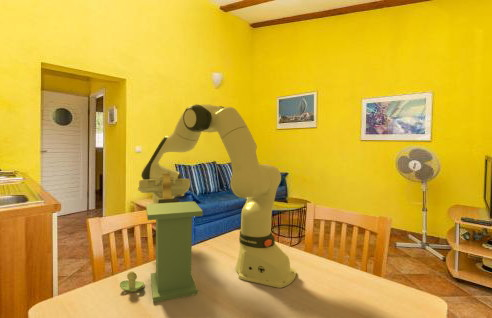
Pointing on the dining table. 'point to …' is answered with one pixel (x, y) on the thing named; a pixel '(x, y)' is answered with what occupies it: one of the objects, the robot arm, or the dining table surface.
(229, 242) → the dining table surface
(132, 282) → the pacifier
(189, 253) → the stand
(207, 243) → the dining table surface
